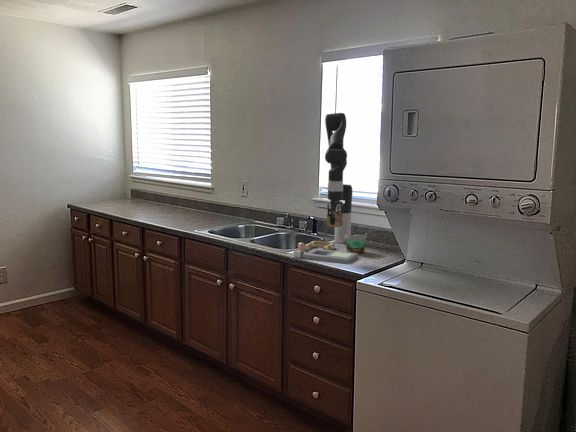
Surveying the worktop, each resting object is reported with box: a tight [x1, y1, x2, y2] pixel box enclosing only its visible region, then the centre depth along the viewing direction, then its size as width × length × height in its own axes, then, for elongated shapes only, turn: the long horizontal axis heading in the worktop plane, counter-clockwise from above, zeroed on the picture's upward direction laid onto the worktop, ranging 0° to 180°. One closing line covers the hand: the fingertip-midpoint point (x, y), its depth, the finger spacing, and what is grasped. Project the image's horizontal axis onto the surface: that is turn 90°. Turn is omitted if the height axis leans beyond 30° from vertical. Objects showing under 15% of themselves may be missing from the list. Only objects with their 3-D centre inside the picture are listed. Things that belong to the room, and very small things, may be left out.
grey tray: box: [302, 248, 359, 264], centre depth 258 cm, size 15×24×2 cm, turn 64°
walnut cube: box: [326, 213, 343, 228], centre depth 254 cm, size 6×6×6 cm
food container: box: [344, 232, 368, 255], centre depth 268 cm, size 12×6×10 cm, turn 103°
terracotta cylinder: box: [297, 242, 305, 256], centre depth 265 cm, size 3×3×6 cm
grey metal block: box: [293, 249, 302, 259], centre depth 260 cm, size 4×4×4 cm
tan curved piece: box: [304, 240, 336, 252], centre depth 276 cm, size 14×12×3 cm
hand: (334, 223), depth 254 cm, fingers closed on walnut cube, 6 cm apart
